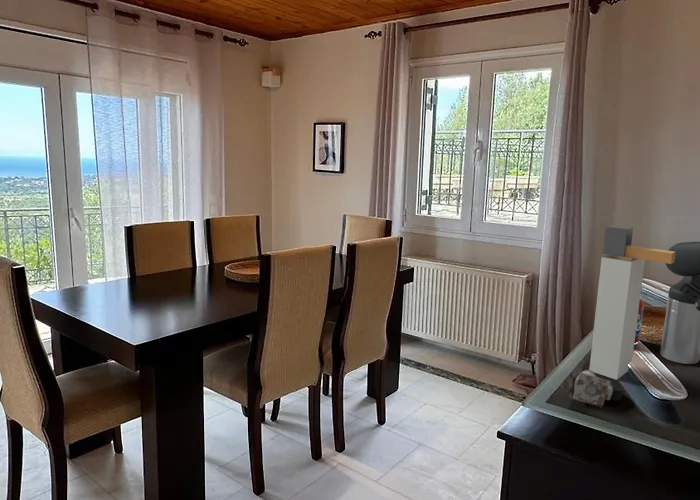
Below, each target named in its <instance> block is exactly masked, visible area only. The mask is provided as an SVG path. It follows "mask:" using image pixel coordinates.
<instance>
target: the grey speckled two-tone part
mask: <svg viewBox="0 0 700 500" xmlns="http://www.w3.org/2000/svg"><path fill="white" fill-rule="evenodd" d="M573 385H574V386H573V389H574V392H573V395H572V400H575V401H577V402H582V403H585V404H587V403H588V405H591V404H593V405H592V406H594V405H602V406H603V407H604V403H605V401H620V400H621V399H622V398H621V397H622V395H623V392H624V388H622V387H621V386H620V385H619V384H617V383H615V382H612V381H610V380H608V379H606V378H602V377H599V376H597V375H596V373H595V372H592V371H591V370H589V369H585V370H584V371H582V372H580V373H579V375H578V376H577V377H576V379H575V381H574V384H573Z"/></svg>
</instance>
